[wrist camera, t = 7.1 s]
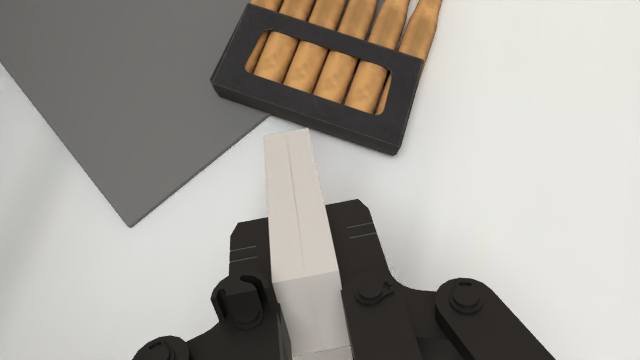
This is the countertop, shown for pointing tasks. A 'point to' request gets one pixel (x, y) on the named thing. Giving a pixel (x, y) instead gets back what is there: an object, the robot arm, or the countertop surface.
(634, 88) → the countertop surface
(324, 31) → the ammunition clip
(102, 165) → the rubber mat
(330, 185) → the countertop surface
